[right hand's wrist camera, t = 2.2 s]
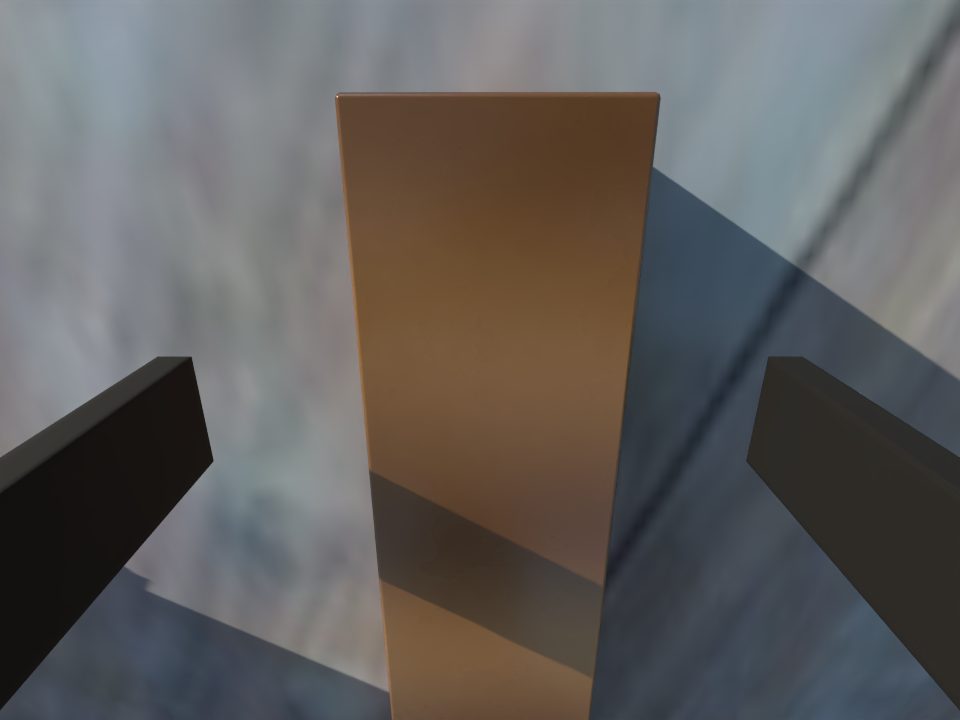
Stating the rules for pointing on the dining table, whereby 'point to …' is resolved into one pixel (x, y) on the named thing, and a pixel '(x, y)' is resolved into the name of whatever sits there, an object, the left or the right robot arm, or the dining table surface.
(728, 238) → the dining table surface
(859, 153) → the dining table surface
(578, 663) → the beam
